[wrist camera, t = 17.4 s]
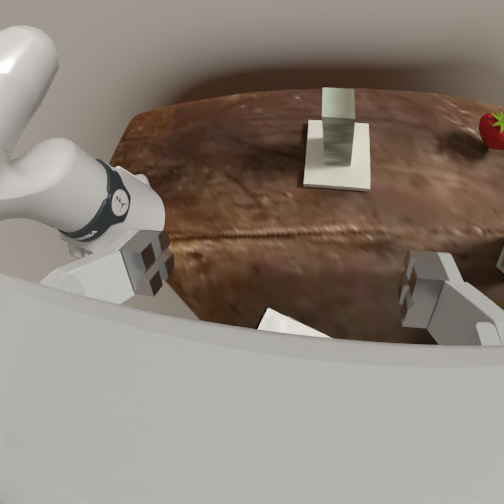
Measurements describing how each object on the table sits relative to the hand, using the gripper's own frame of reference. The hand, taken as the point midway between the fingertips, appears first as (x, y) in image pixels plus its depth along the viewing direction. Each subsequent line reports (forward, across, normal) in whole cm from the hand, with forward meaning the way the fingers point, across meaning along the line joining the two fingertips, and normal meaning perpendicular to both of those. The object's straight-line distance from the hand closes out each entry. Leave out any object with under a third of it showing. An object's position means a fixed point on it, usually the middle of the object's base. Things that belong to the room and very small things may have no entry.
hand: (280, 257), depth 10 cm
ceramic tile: (+40, -2, +7) cm, 41 cm away
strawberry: (+45, -30, +3) cm, 54 cm away
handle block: (+40, -2, +6) cm, 40 cm away
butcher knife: (+20, 0, +28) cm, 34 cm away
